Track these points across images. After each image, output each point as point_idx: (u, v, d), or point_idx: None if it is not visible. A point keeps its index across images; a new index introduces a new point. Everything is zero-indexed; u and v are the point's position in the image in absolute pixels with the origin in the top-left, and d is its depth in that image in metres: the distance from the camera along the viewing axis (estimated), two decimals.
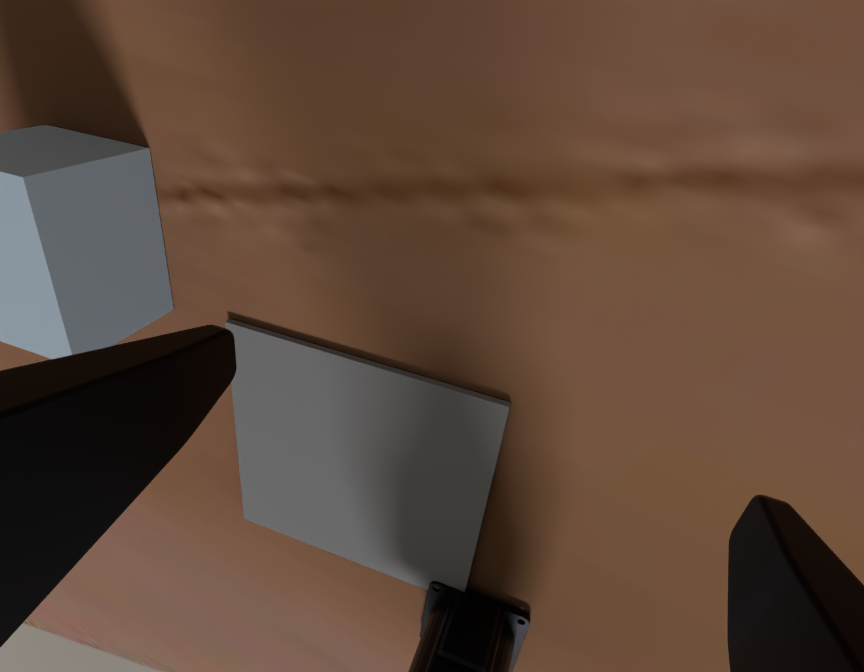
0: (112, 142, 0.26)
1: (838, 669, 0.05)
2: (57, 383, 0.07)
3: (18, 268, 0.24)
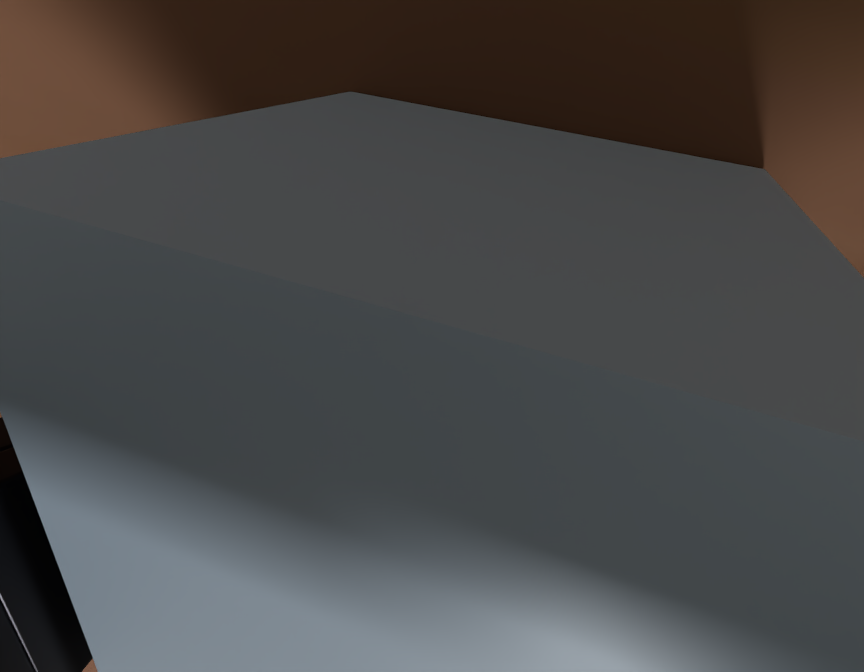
0: (633, 148, 0.08)
1: None
2: None
3: None
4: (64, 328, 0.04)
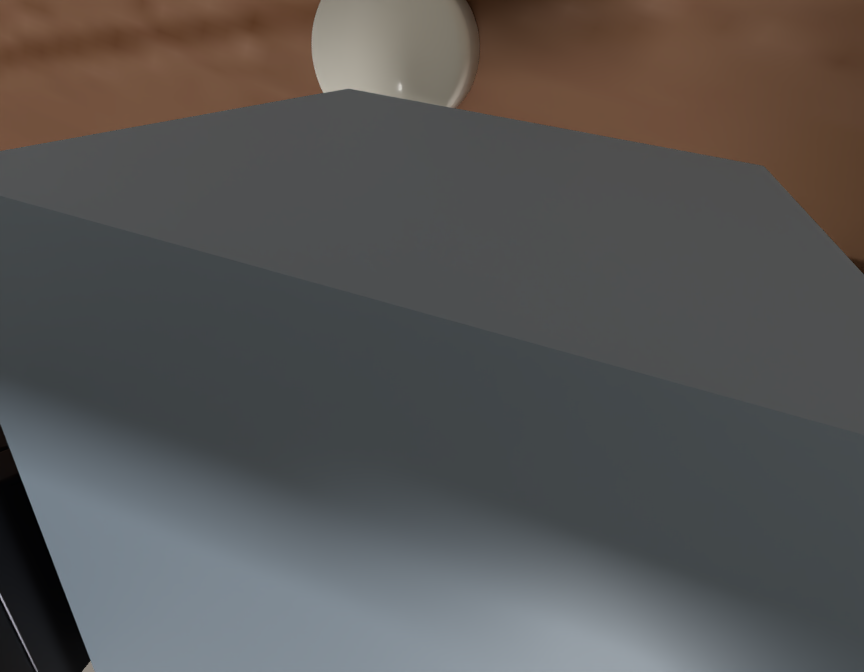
0: (631, 145, 0.08)
1: None
2: None
3: None
4: (57, 323, 0.04)
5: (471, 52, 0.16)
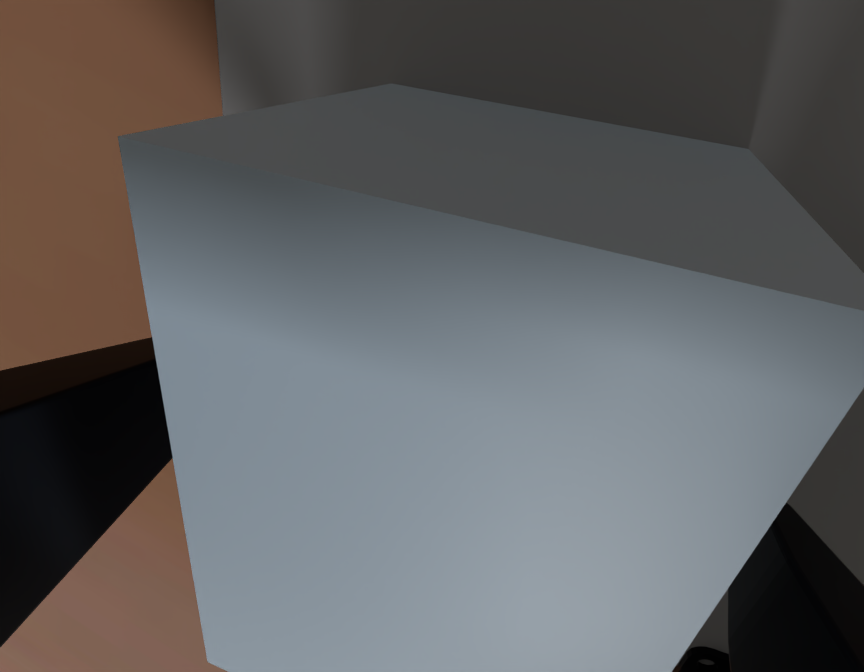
0: (637, 131, 0.09)
1: (838, 669, 0.05)
2: (57, 383, 0.07)
3: (513, 605, 0.06)
4: (221, 251, 0.05)
5: None
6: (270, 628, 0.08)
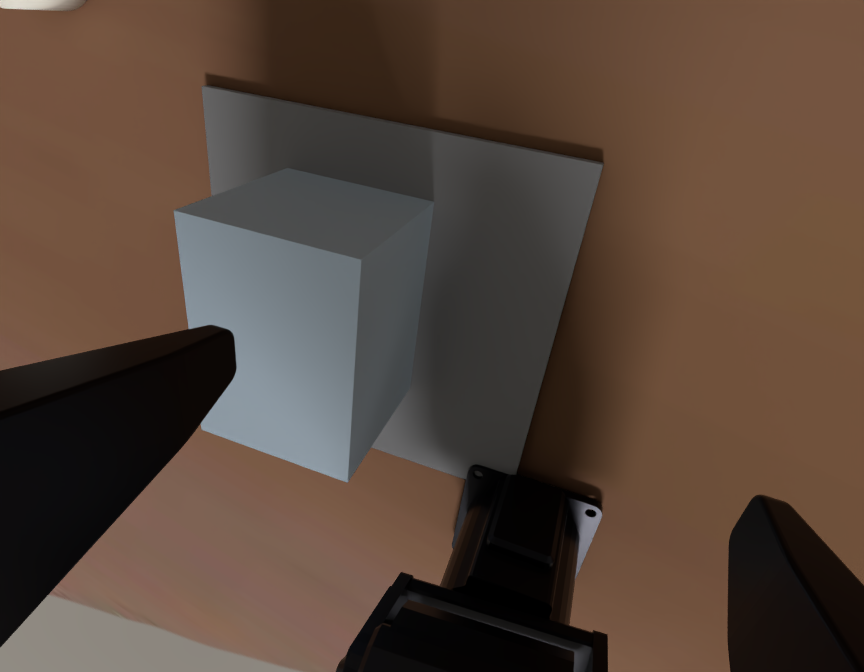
0: (386, 194, 0.21)
1: (839, 669, 0.05)
2: (57, 383, 0.07)
3: (305, 365, 0.18)
4: (204, 244, 0.17)
5: None
6: (227, 400, 0.20)
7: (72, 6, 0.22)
